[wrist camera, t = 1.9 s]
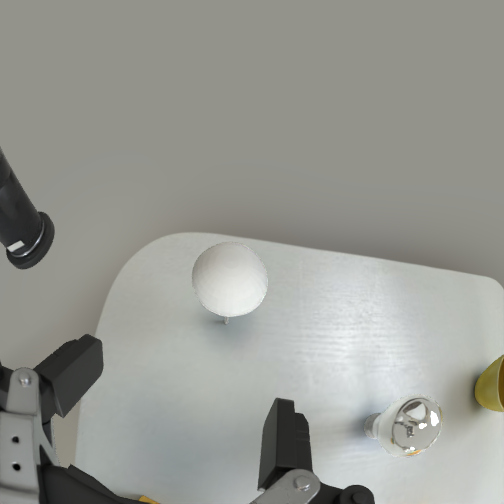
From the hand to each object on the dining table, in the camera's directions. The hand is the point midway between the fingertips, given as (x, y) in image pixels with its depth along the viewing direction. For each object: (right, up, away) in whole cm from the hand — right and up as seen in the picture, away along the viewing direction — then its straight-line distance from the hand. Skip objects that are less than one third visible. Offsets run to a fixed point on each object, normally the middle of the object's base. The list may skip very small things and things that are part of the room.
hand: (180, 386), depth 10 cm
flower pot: (+42, -18, +18) cm, 49 cm away
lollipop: (0, -3, +22) cm, 22 cm away
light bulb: (+18, -16, +16) cm, 29 cm away
